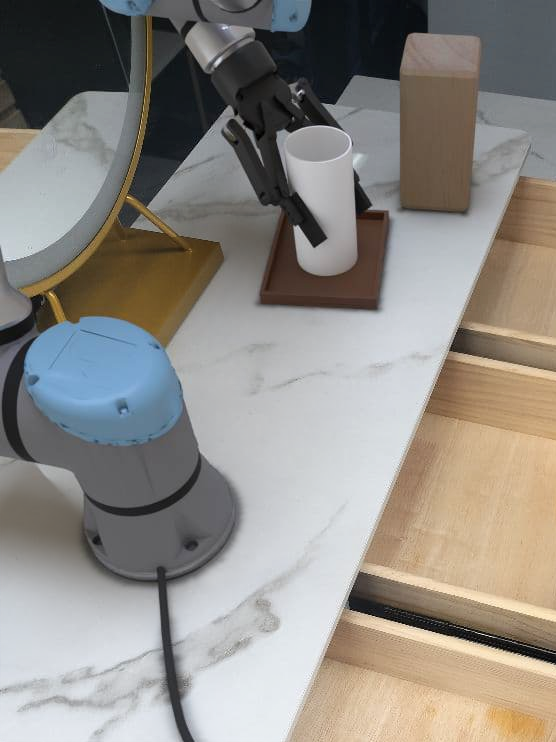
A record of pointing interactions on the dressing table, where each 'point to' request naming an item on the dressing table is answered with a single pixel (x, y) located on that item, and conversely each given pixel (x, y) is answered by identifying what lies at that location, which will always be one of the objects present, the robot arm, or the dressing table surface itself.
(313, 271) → the cup
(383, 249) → the tray
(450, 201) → the wooden block
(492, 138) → the dressing table surface
